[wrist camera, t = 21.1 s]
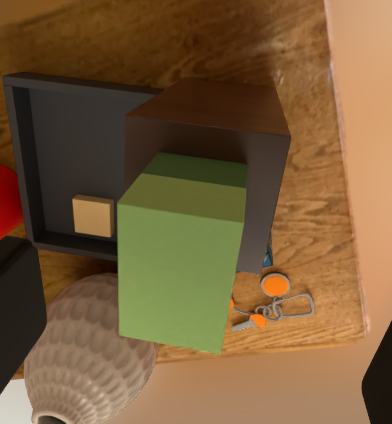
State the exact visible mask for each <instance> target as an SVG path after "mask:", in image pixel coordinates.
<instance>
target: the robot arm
mask: <svg viewBox="0 0 392 424" xmlns="http://www.w3.org/2000/svg"><path fill="white" fill-rule="evenodd" d="M46 325H47V312H46V305H45V298H44V292H43V285H42V278H41V271H40V264H39V257H38V251H37V248H36V246H33V245H32V242H31V241H30V240H29V239H24V238H19V237H13V236H5V237H4V238H2V239H1V240H0V394H1V393H2V391H3V390H4V388H5V387H6V386H7V384H8V383H9V381H10V380H11V378H12V377H13V376H14V374H15V373H16V371H17V370H18V368H19V367H20V365H21V364H22V362H23V361H24V360H25V358H26V357H27V355H28V354H29V352H30V351H31V349H32V348H33V347H34V345H35V344H36V342H37V341H38V339H39V338H40V336H41V335H42V334H43V332H44V330H45V328H46ZM362 394H363V398H364V402H365V405H366V409H367V412H368V416H369V420H370V423H371V424H392V321H391V323H390V325H389V327H388V329H387V331H386V333H385V335H384V337H383V339H382V341H381V343H380V345H379V347H378V349H377V351H376V353H375V355H374V357H373V359H372V362H371V363H370V365H369V367H368V369H367V371H366V374H365V376H364V378H363V380H362Z"/></svg>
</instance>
